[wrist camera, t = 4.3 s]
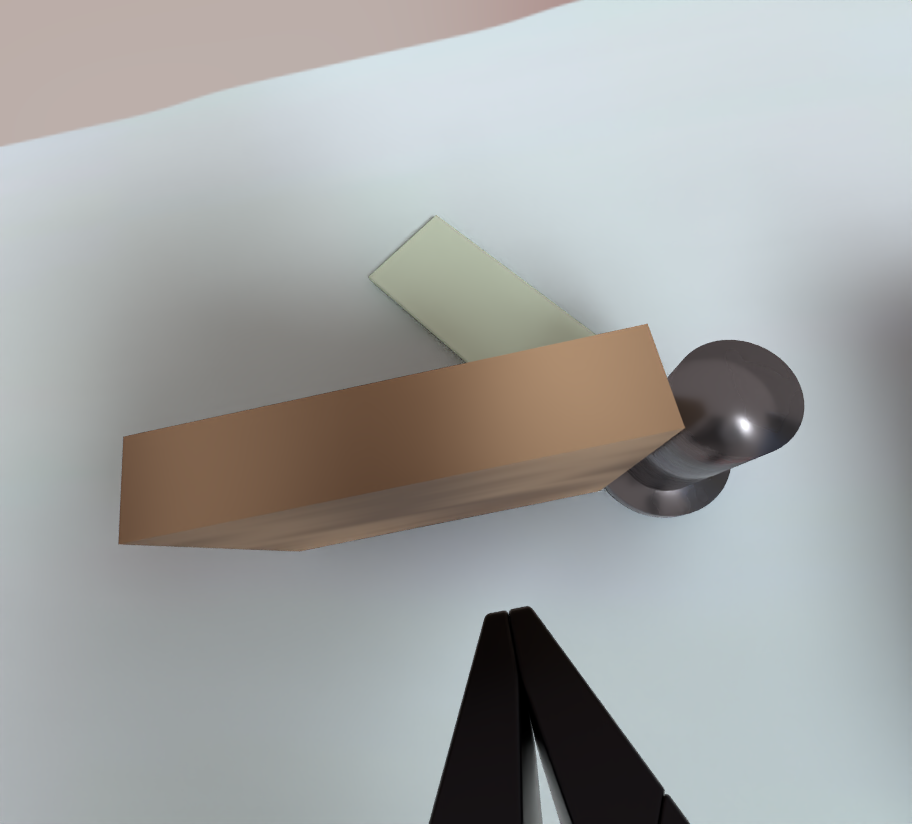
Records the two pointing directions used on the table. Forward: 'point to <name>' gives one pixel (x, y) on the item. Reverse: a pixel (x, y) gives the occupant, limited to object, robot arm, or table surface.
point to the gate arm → (403, 450)
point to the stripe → (471, 297)
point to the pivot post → (714, 427)
